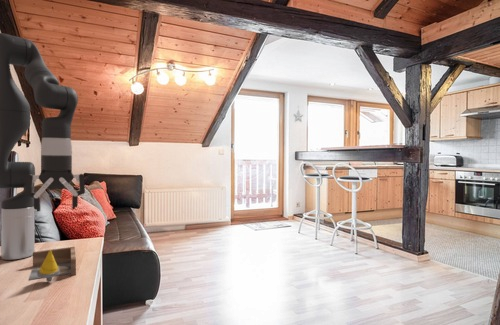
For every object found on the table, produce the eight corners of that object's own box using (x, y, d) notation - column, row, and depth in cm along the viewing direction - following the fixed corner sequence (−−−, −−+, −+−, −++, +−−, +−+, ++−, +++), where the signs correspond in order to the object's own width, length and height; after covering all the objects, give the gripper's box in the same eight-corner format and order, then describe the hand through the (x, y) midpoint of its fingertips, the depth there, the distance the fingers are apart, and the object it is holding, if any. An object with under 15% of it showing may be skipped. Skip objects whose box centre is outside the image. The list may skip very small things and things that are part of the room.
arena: (33, 267, 98) (33, 251, 98) (74, 261, 104) (74, 246, 104) (28, 283, 85) (28, 266, 85) (75, 275, 91) (75, 259, 91)
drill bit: (55, 275, 90) (57, 243, 89) (61, 283, 87) (64, 251, 85) (33, 280, 86) (36, 247, 85) (39, 289, 83) (42, 255, 81)
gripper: (24, 153, 80) (24, 214, 80) (85, 154, 87) (85, 210, 88) (27, 153, 87) (28, 209, 87) (84, 154, 94) (84, 206, 94)
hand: (56, 209), depth 87 cm, fingers open, 8 cm apart
